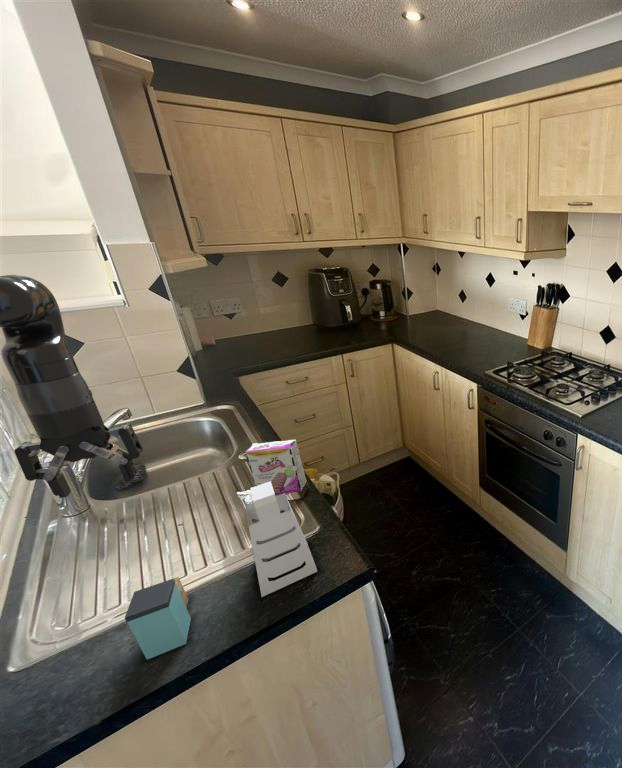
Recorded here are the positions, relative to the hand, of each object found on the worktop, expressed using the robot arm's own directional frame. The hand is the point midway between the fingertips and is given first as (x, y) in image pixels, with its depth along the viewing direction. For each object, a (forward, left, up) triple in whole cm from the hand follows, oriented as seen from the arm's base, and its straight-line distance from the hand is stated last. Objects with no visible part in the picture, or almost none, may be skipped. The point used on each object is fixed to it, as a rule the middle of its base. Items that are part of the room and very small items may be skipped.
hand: (99, 487), depth 71 cm
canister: (+4, -8, -26) cm, 28 cm away
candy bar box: (+24, +24, -27) cm, 44 cm away
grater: (+23, -5, -27) cm, 36 cm away
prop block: (+4, -5, -27) cm, 28 cm away
